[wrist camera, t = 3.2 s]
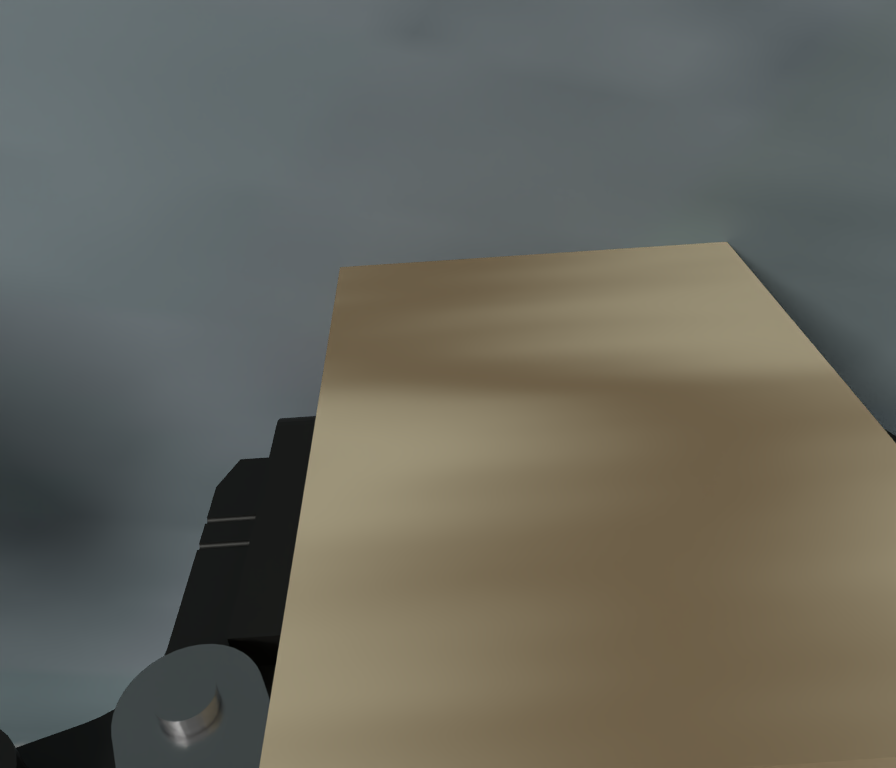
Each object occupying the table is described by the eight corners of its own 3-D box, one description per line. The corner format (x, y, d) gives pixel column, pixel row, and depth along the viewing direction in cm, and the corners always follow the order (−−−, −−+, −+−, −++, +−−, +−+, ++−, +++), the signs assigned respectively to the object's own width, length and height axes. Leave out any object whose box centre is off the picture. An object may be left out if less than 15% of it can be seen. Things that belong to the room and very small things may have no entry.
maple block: (378, 546, 13) (357, 1104, 7) (340, 266, 10) (253, 803, 4) (683, 525, 13) (908, 1063, 7) (726, 241, 10) (1144, 738, 4)
